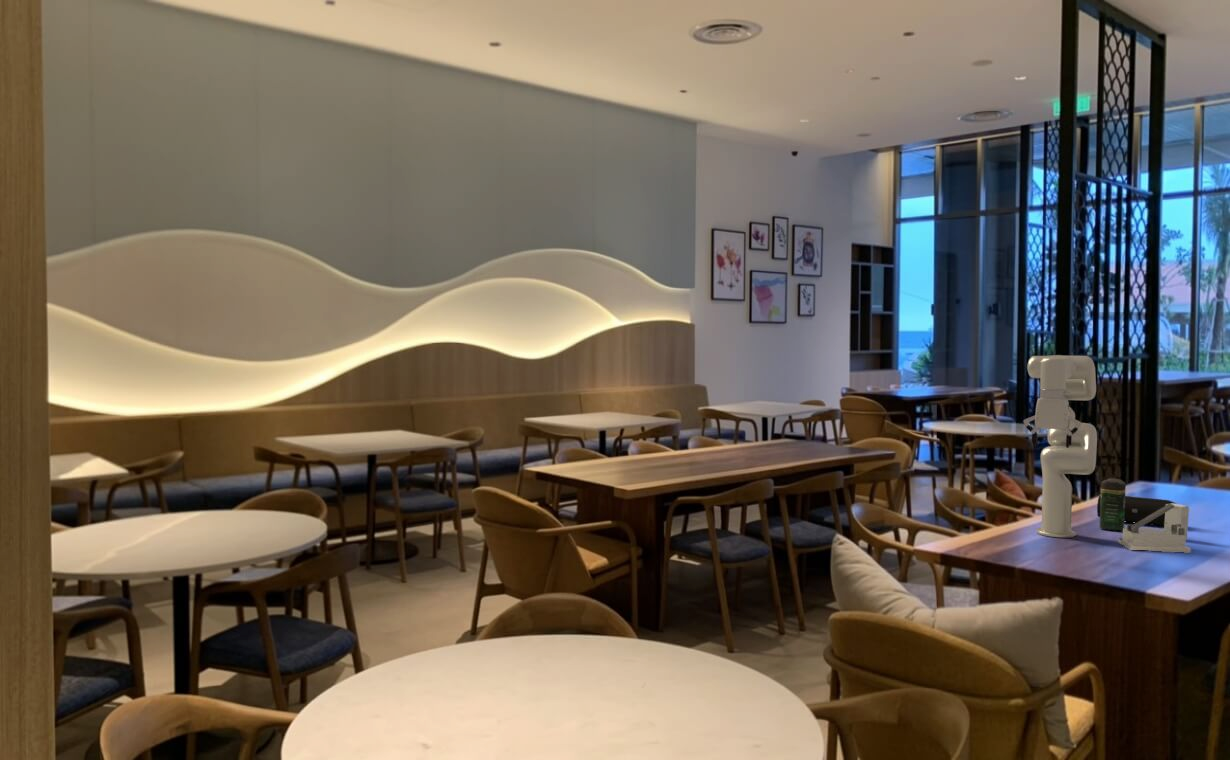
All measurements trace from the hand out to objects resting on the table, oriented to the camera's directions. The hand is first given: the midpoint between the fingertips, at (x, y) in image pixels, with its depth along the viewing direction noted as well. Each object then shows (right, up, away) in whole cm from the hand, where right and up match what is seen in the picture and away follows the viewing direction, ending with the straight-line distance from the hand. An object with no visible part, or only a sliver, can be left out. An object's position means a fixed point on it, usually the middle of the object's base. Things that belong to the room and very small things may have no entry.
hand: (1051, 446), depth 300 cm
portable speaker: (+54, -33, +45) cm, 77 cm away
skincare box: (+52, -34, +17) cm, 64 cm away
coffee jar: (+38, -33, +34) cm, 61 cm away
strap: (+35, -24, +3) cm, 43 cm away
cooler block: (+36, -34, +4) cm, 50 cm away
